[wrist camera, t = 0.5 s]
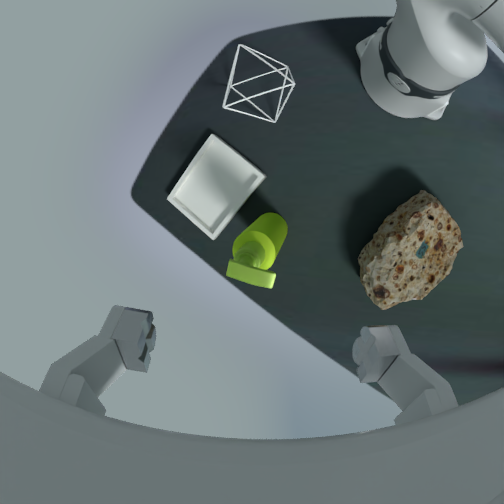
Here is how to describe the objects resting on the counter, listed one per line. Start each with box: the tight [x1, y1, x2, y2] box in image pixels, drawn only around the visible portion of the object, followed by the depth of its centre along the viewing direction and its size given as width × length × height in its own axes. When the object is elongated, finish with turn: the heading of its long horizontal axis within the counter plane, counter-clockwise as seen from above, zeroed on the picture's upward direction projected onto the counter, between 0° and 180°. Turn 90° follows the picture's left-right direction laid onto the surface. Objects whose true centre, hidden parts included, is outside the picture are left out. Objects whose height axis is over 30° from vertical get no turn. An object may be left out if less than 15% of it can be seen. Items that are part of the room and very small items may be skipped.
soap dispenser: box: [226, 213, 288, 288], centre depth 39 cm, size 6×7×20 cm
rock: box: [358, 190, 463, 310], centre depth 40 cm, size 21×14×10 cm
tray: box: [167, 134, 267, 240], centre depth 48 cm, size 15×12×2 cm
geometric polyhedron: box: [223, 44, 295, 123], centre depth 37 cm, size 12×11×9 cm
